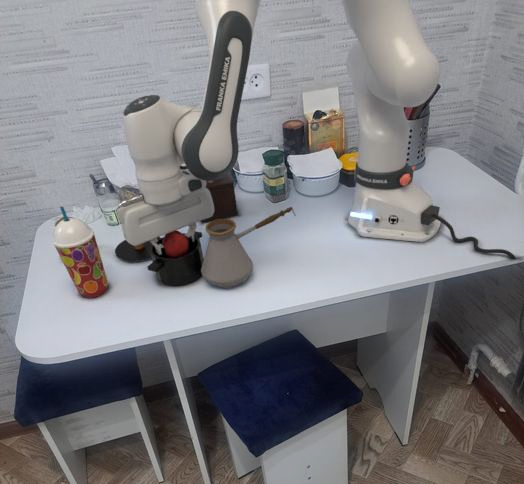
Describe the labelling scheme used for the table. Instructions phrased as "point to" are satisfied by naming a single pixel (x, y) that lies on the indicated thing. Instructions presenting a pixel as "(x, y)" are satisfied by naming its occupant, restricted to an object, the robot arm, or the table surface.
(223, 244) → the coffee pot
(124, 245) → the pot lid
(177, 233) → the red rounded piece
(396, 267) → the table surface
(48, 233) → the table surface
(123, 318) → the table surface
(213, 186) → the coffee grinder
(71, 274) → the smoothie
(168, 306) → the table surface
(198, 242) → the pot
